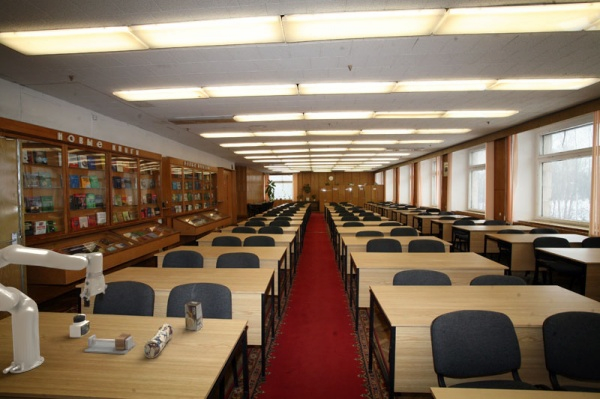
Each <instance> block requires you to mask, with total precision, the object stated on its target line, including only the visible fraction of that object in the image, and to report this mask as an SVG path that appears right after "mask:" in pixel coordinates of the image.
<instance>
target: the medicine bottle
mask: <svg viewBox="0 0 600 399" xmlns="http://www.w3.org/2000/svg"><path fill="white" fill-rule="evenodd" d="M86 319H87V318H86V314H84V313H81V314H76V315H75V316H74V317H72V320H73V321H72V324H71V325H69V338H83V337H84V336H86V335H87V334H89V333H90V329H91V328H90V320H86Z"/></svg>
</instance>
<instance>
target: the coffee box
mask: <svg viewBox="0 0 600 399" xmlns="http://www.w3.org/2000/svg"><path fill="white" fill-rule="evenodd" d="M184 316H185V317H184V318H185V322H184V323H185V324H184V325H185V330H191V331H197V332H198V331H199V330H200V329H202V328H203V327H204V326H203V324H204V323H203V322H204V321H203V302H201V301H193V300H190V301H188V302H187V303H185V304H184Z"/></svg>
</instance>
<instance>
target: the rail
mask: <svg viewBox="0 0 600 399" xmlns="http://www.w3.org/2000/svg"><path fill="white" fill-rule="evenodd" d="M136 346H137V343H134V336H132V335H131V336H130V337H129V338H127V339H126V340H125V349H124V350H116V349H115V338H113V339H112V338H111V339H110V338H97V335H96V334H92V335H91V336H89V337H87V348H85V349H84V350H83V351H84V353H92V354H111V355H113V354H114V355H126V354H127V353H128V352H130V351H131V350H132V349H133V348H134V347H136Z"/></svg>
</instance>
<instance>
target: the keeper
mask: <svg viewBox="0 0 600 399" xmlns="http://www.w3.org/2000/svg"><path fill="white" fill-rule="evenodd" d="M130 336H132V333H128V332H127V333H125V332H123V333H121V334H119V335H118V336H116V337H115V338H114V339H115V349H116V350H124V349H125V340H126V339H127V338H129V337H130Z"/></svg>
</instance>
